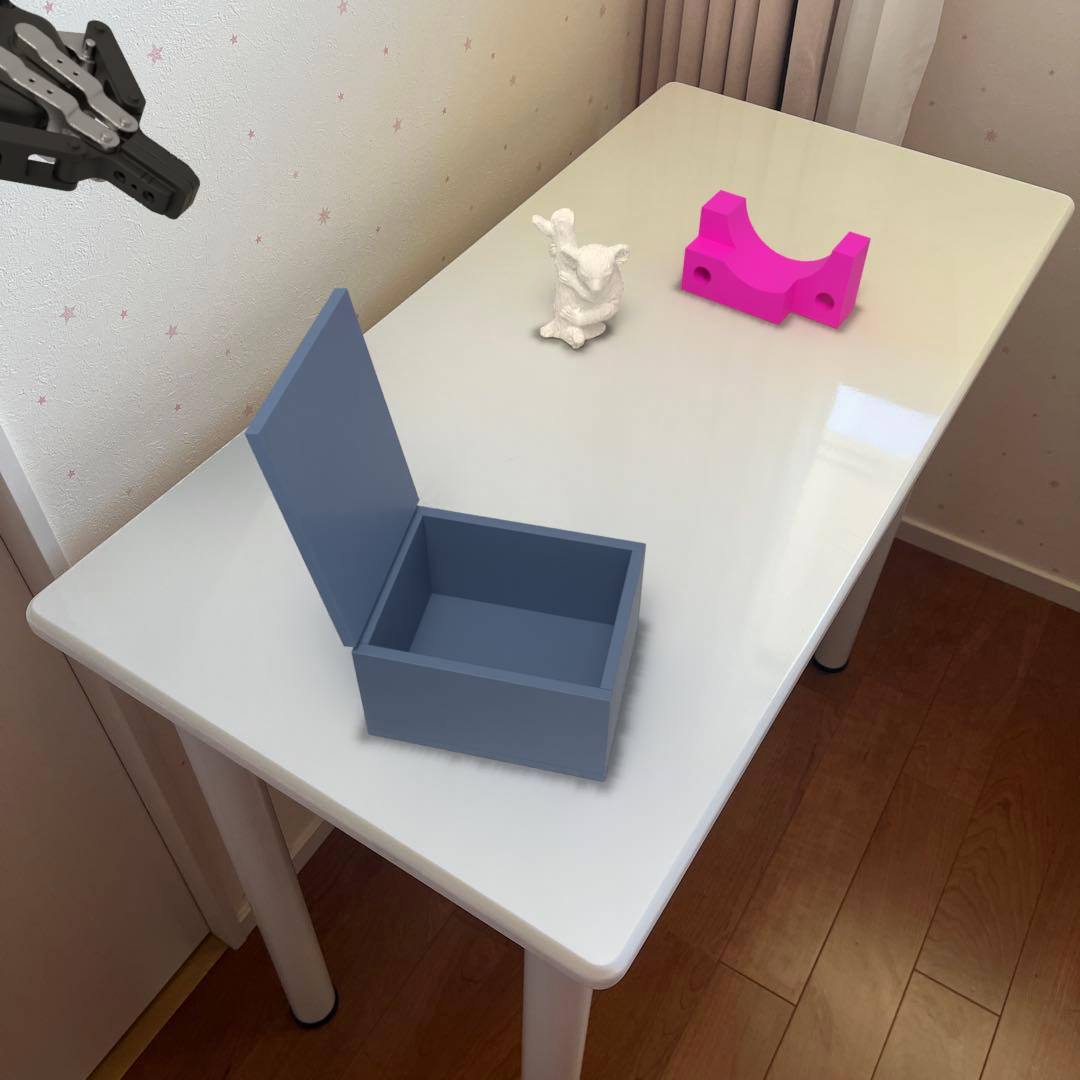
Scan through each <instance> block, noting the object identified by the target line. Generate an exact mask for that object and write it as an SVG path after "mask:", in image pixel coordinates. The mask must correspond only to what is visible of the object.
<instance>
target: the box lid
mask: <svg viewBox="0 0 1080 1080" xmlns="http://www.w3.org/2000/svg"><path fill="white" fill-rule="evenodd" d="M361 328H362V327H361V325H360V322H359V319H358V316H357V314H356V311H355V308H354V305H353V302H352V299H351V296H350V293H349V289H348V288H347V287H336V288H334V289H333V290H332V292H331V293H330V295H329V296H328V298H327V300H326V302H325V303H324V305H323V306H322V308H321V309H320V311H319V313H318V314H317V315H316V317H315V319H314V320H313V322H312V324H311V325H310V327H309V329H308V330H307V332H306V333H305V335H304V337H303V338H302V339H301V341H300V343H299V345H298V346H297V347H296V350H295V351H294V353H293V354H292V356H291V358H290V359H289V361H288V362H287V364H286V366H285V367H284V369H283V371H282V372H281V373H280V375H279V377H278V379H277V380H276V381H275V383H274V384H273V386H272V388H271V390H270V391H269V393H268V394H267V396H266V398H264V400H263V403H262V404H261V406H260V407H259V408H258V411H257V412H256V414H255V416H254V417H253V419H252V420H251V421H250V423H249V425H248V427H247V428H246V429H245V431H244V436H245V438H246V440H247V442H248V445H249V447H250V449H251V451H252V453H253V455H254V458H255V459H256V462H257V464H258V467H259V468H260V470H261V473H262V475H263V477H264V479H265V481H266V483H267V485H268V488H269V490H270V491H271V495H272V497H273V498H274V501H275V502H276V504H277V506H278V509H279V511H280V513H281V515H282V517H283V519H284V522H285V523H286V526H287V528H288V530H289V533H290V534H291V537H292V539H293V541H294V543H295V546H296V547H297V550H298V551H299V554H300V556H301V558H302V560H303V562H304V564H305V567H306V569H307V571H308V573H309V575H310V577H311V579H312V581H313V584H314V586H315V588H316V591H317V592H318V594H319V596H320V599H321V601H322V603H323V605H324V607H325V609H326V611H327V613H328V616H329V618H330V620H331V622H332V624H333V627H334V629H335V631H336V633H337V635H338V637H339V639H340V641H341V643H342V646H343V647H347V648H353V647H356V645H357V643H358V641H359V638H360V636H361V634H362V631H363V629H364V627H365V624H366V622H367V620H368V618H369V615H370V613H371V611H372V608H373V606H374V604H375V601H376V599H377V597H378V595H379V592H380V590H381V588H382V585H383V583H384V581H385V578H386V576H387V574H388V571H389V569H390V567H391V565H392V562H393V560H394V558H395V555H396V553H397V551H398V548H399V546H400V544H401V542H402V539H403V537H404V535H405V532H406V530H407V528H408V525H409V523H410V521H411V519H412V516H413V514H414V512H415V509H416V507H417V505H418V506H419V502H420V497H419V494H418V491H417V488H416V486H415V483H414V479H413V477H412V473H411V471H410V468H409V465H408V461H407V460H406V459H407V458H406V456H405V453H404V450H403V448H402V445H401V441H400V439H399V436H398V433H397V430H396V427H395V424H394V421H393V418H392V415H391V413H390V410H389V407H388V404H387V401H386V398H385V395H384V392H383V389H382V386H381V383H380V380H379V377H378V375H377V372H376V369H375V366H374V363H373V359H372V357H371V354H370V351H369V348H368V345H367V343H366V339H365V337H364V334H363V331H362V329H361Z"/></svg>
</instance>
